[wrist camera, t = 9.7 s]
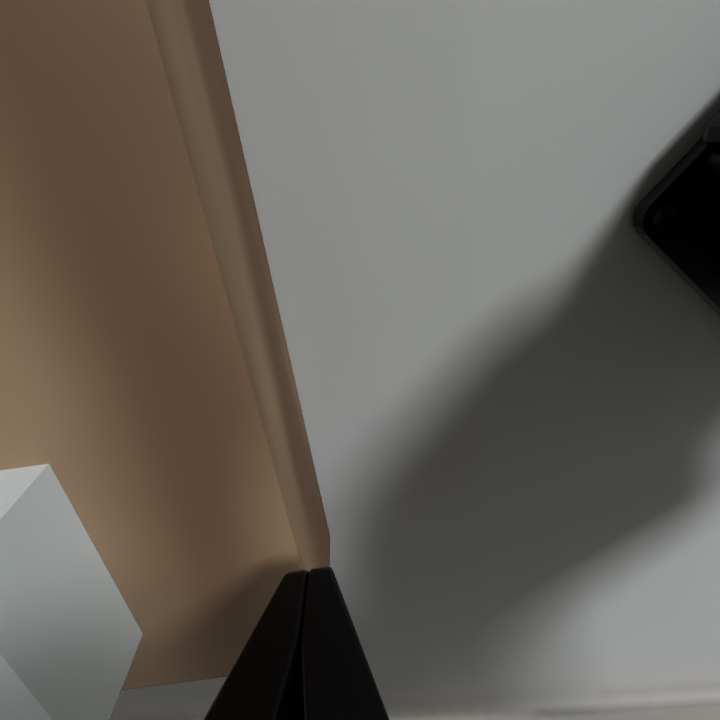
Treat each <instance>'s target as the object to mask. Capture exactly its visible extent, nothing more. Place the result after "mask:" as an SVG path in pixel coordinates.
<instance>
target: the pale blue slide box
mask: <svg viewBox="0 0 720 720" xmlns="http://www.w3.org/2000/svg"><path fill="white" fill-rule="evenodd" d="M141 637H142V632H141V630H140V628H139V626H138V625H137V623H136V621H135V619H134V617H133V615H132V614H131V612H130V610H129V608H128V606H127V605H126V603H125V601H124V599H123V597H122V595H121V594H120V592H119V590H118V588H117V586H116V585H115V583H114V581H113V579H112V577H111V575H110V574H109V572H108V570H107V568H106V566H105V565H104V563H103V561H102V559H101V557H100V555H99V554H98V552H97V550H96V548H95V546H94V545H93V543H92V541H91V539H90V537H89V536H88V534H87V532H86V530H85V528H84V526H83V525H82V523H81V521H80V519H79V517H78V516H77V514H76V512H75V510H74V508H73V506H72V505H71V503H70V501H69V499H68V497H67V496H66V494H65V492H64V490H63V488H62V486H61V485H60V483H59V481H58V479H57V477H56V476H55V474H54V472H53V470H52V468H51V466H50V465H49V464H43V465H36V466H28V467H21V468H14V469H7V470H0V720H110V717H111V715H112V712H113V709H114V707H115V704H116V702H117V699H118V696H119V694H120V691H121V689H122V686H123V684H124V681H125V678H126V676H127V673H128V671H129V668H130V665H131V663H132V660H133V658H134V655H135V653H136V650H137V647H138V645H139V642H140V640H141Z"/></svg>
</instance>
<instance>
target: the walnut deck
mask: <svg viewBox="0 0 720 720" xmlns="http://www.w3.org/2000/svg"><path fill="white" fill-rule="evenodd" d="M43 464H49V465H50V466H51V468H52V470H53V472H54V474H55V476H56V477H57V479H58V481H59V483H60V485H61V486H62V488H63V490H64V492H65V494H66V496H67V497H68V499H69V501H70V503H71V505H72V506H73V508H74V510H75V512H76V514H77V516H78V517H79V519H80V521H81V523H82V525H83V526H84V528H85V530H86V532H87V534H88V536H89V537H90V539H91V541H92V543H93V545H94V546H95V548H96V550H97V552H98V554H99V555H100V557H101V559H102V561H103V563H104V565H105V566H106V568H107V570H108V572H109V574H110V575H111V577H112V579H113V581H114V583H115V585H116V586H117V588H118V590H119V592H120V594H121V595H122V597H123V599H124V601H125V603H126V605H127V606H128V608H129V610H130V612H131V614H132V615H133V617H134V619H135V621H136V623H137V625H138V626H139V628H140V630H141V632H142V637H141V640H140V642H139V645H138V647H137V650H136V653H135V655H134V658H133V660H132V663H131V665H130V668H129V671H128V673H127V676H126V678H125V681H124V684H123V686H122V689H121V690H126V689H134V688H142V687H149V686H157V685H165V684H172V683H180V682H188V681H195V680H203V679H211V678H218V677H226V676H228V675H229V673H230V671H231V670H232V668H233V666H234V664H235V662H236V661H237V659H238V657H239V655H240V653H241V652H242V650H243V648H244V646H245V645H246V643H247V641H248V639H249V637H250V636H251V634H252V632H253V630H254V628H255V627H256V625H257V623H258V621H259V619H260V618H261V616H262V614H263V612H264V610H265V609H266V607H267V605H268V603H269V601H270V600H271V598H272V596H273V594H274V592H275V591H276V589H277V587H278V585H279V583H280V582H281V580H282V578H283V576H284V575H285V574H286V573H287V572H290V571H297V570H308V571H310V570H311V569H313V568H320V567H327V566H329V567H330V535H329V530H328V526H327V521H326V517H325V513H324V508H323V504H322V499H321V495H320V490H319V486H318V482H317V477H316V473H315V468H314V464H313V459H312V455H311V451H310V446H309V442H308V437H307V433H306V429H305V424H304V420H303V415H302V411H301V406H300V402H299V398H298V393H297V389H296V384H295V380H294V375H293V371H292V367H291V362H290V358H289V353H288V349H287V344H286V340H285V336H284V331H283V327H282V322H281V318H280V314H279V309H278V305H277V300H276V296H275V291H274V287H273V283H272V278H271V274H270V269H269V265H268V260H267V256H266V252H265V247H264V243H263V238H262V234H261V230H260V225H259V221H258V216H257V212H256V207H255V203H254V199H253V194H252V190H251V185H250V181H249V176H248V172H247V168H246V163H245V159H244V154H243V150H242V145H241V141H240V137H239V132H238V128H237V123H236V119H235V115H234V110H233V106H232V101H231V97H230V92H229V88H228V84H227V79H226V75H225V70H224V66H223V61H222V57H221V53H220V48H219V44H218V39H217V35H216V31H215V26H214V22H213V17H212V13H211V8H210V4H209V0H0V470H7V469H14V468H21V467H28V466H36V465H43Z"/></svg>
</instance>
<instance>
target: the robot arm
mask: <svg viewBox="0 0 720 720" xmlns="http://www.w3.org/2000/svg"><path fill="white" fill-rule="evenodd" d="M662 207H664V208H665V215H664V217H663V219H662V220H661V222H659V223H658V224H656V225H655V224H654V216H655V214H656V213H657V211H658V210H659V209H661V208H662ZM633 226H634V228H635V230H636V232H637V233H638V234H639V235H640V236H641V237H642V238H643V239H644V240H645V241H646V242H647V243H648V244H649V245H650V246H651V247H652V248H653V249H654V250H655V251H656V252H657V253H658V254H659V255H660V256H661V257H662V258H663V259H664V260H665V261H666V262H667V263H668V264H669V265H670V266H671V267H672V268H673V269H674V270H675V271H676V272H677V273H678V274H679V275H680V276H681V277H682V278H683V279H684V280H685V281H686V282H687V283H688V284H689V285H690V286H691V287H692V288H693V289H694V290H695V291H696V292H697V293H698V294H699V295H700V296H701V297H702V298H703V299H704V300H705V301H706V302H707V303H708V304H709V305H710V306H711V307H712V308H713V309H714V310H715V311H716V312H717V313H718V314H719V315H720V112H719V113H718V114H717V115H716V116H715V117H714V118H713V119H712V120H711V121H710V123H709V124H708V126H707V128H706V131H705V133H704V135H703V137H702V138H701V139H700V140H699V141H698V142H697V143H696V144H695V145H694V146H693V147H692V148H691V149H690V151H689V152H688V153H687V154H686V155H685V156H684V157H683V158H682V159H681V160H680V161H679V162H678V163H677V164H676V165H675V166H674V167H673V168H672V169H671V170H670V171H669V172H668V173H667V174H666V176H665V177H664V178H663V179H662V180H661V181H660V182H659V183H658V184H657V185H656V186H655V187H654V188H653V189H652V190H651V191H650V192H649V193H648V194H647V195H646V196H645V197H644V198H643V200H642V201H641V202H640V203H639V205H638V206H637V207H636V209H635V212H634V215H633ZM204 720H389V718H388V715H387V712H386V710H385V707H384V704H383V702H382V699H381V697H380V694H379V691H378V689H377V686H376V683H375V681H374V678H373V675H372V673H371V670H370V667H369V665H368V662H367V659H366V657H365V654H364V652H363V649H362V646H361V644H360V641H359V638H358V636H357V633H356V630H355V628H354V625H353V622H352V620H351V617H350V614H349V612H348V609H347V606H346V604H345V601H344V599H343V596H342V593H341V591H340V588H339V585H338V583H337V580H336V577H335V575H334V572H333V570H332V568H331V567H329V566H327V567H320V568H313V569H311V570H310V571H308V570H297V571H290V572H287V573H286V574H285V575H284V576H283V578H282V580H281V582H280V583H279V585H278V587H277V589H276V591H275V592H274V594H273V596H272V598H271V600H270V601H269V603H268V605H267V607H266V609H265V610H264V612H263V614H262V616H261V618H260V619H259V621H258V623H257V625H256V627H255V628H254V630H253V632H252V634H251V636H250V637H249V639H248V641H247V643H246V645H245V646H244V648H243V650H242V652H241V653H240V655H239V657H238V659H237V661H236V662H235V664H234V666H233V668H232V670H231V671H230V673H229V675H228V677H227V679H226V680H225V682H224V684H223V686H222V688H221V689H220V691H219V693H218V695H217V697H216V698H215V700H214V702H213V704H212V706H211V707H210V709H209V711H208V713H207V715H206V716H205V718H204Z"/></svg>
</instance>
